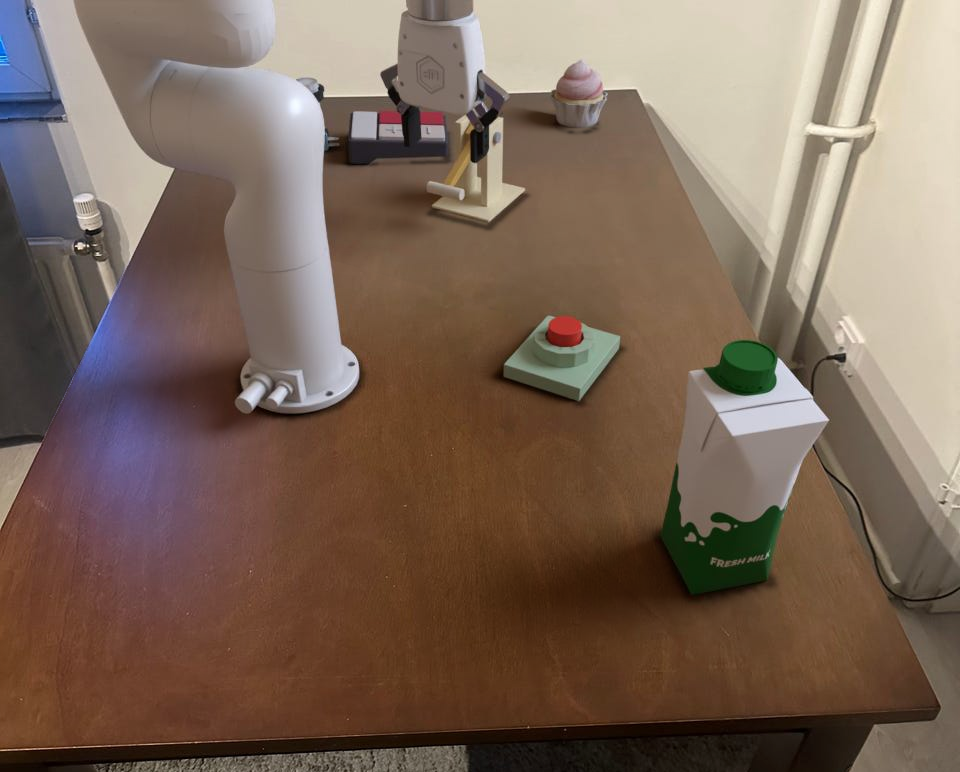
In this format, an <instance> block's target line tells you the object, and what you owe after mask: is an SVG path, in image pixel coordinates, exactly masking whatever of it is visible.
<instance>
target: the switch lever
mask: <svg viewBox="0 0 960 772" xmlns="http://www.w3.org/2000/svg"><path fill="white" fill-rule="evenodd" d="M473 129H474V127H473V125H472V124H470V126H469V128H468V129H467V131H466V137H467V140H468V142H467V144H466V146H465V147H464V149H463V151H462V153H461V154H460V156H459V158H458V159H457V161H456V163H455V162H454V164H453V166H452V168H451V169H450V171H449V173H448V175H447V177H446V178H445V180H444V182H443V183H441V182H437V181H432V180H430V181H428V182H427V184H426V189H425V190H426V192H427V193H429V194H433V195H438V196H441V197H443V196H445V197H448V198H452V199H456V200H460V201H461V200H463V198H464V194H465V192H464V189H461V188H457V187H456V183H457V181H458V179H459V178H460V176H461V174H462V172H463V171H464V169H465V167H466V166H467V164H468V162H469V160H470V132H471V130H473Z"/></svg>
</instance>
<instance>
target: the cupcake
mask: <svg viewBox="0 0 960 772" xmlns="http://www.w3.org/2000/svg"><path fill="white" fill-rule="evenodd" d="M550 92H551V94H550V95H549V97H550V99H551V102H552V104H553V106H554V112H555V116H556V120H557V123H558V124H560V125H562V126H565V127H569V128H574V129H575V128H576V129H577V128H578V129H579V128H582V129H583V128H589V127H592V126H594V125H595V124H597V123H598V120H599V117H600V113H601V110H602V109H603V107H604V105H605V103H606V101H607V100H608V97H607V96H608V92H606V91H604V84H603V81H602V79H601V76H600V74H599V73H598V72H597V70H594V69H593V68H590V67H589V65H588V64H587V63H586V61H585V60H583V59H579V60H578V61H576V62H574V63H572V64H571V65H568V67H567V68H566V69H565V71H564V73H563V75H562V76H561V77H560V78H559V79H558V81H557V83H556V85H555V89H552V90H550Z"/></svg>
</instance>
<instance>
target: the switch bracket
mask: <svg viewBox="0 0 960 772" xmlns="http://www.w3.org/2000/svg"><path fill="white" fill-rule="evenodd" d="M470 124H471V122H470V121H469V119H468V117H467V116H466V114H465V115H462V116H461V117H459V118H458V119H457V120H456V121H454V159H455V160H454V164H455V163H456V161H457V159H458V158H459V156H460V154H461V153H462V151H463V149H464V147H465V146H466V144H467V142H468V140H467V137H466V131H467V129H468V128H469V126H470ZM503 146H504V117H501V116H499V117H498V118H497V119H496V120H495V121H494V122H493V123H492V124H490V125H489V151H488V153H487V155H486V156H485V157H484V158H482V159H481V160H480V177H479V176H478V162H477V163H472V161H471V160H469V162H468V164H467V166H466V167H465V169H464V171H463V172H462V174H461V176H460V178H459V179H458V181H457V183H456V184H455V187H457V188H461V189H464V192H465V194H464V198H463V200H461V201H460V200H456V199H452V198H448V197H445V196H441V197H440V198H439V199H437V201H435V202H434V203H433V204H431V208H432V209H436V210H439V211H444V212H447V213H451V214H456V215H459V216H463V217H467V218H471V219H474V220H479V221H482V222H486V223H490V222H491V221H492V220H493V219H494V218H496V216H498V215H499V214H500V213H501V212H502V211H504V209H505V208H507V207H508V206H510V204H511V203H512V202H514V201H515V200H516V199H517V198H518V197H519V196H520V195H521V194H523V193H524V192H525V191H526V188H525V187H523V186H517V185H513V184H510V183H505V182H503V161H504V160H503V159H504V158H503V153H504V152H503V151H504V149H503V148H504V147H503Z"/></svg>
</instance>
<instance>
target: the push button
mask: <svg viewBox="0 0 960 772" xmlns="http://www.w3.org/2000/svg"><path fill="white" fill-rule="evenodd" d="M295 80H297V81H298V82H300V83H301V84H303V85H304V86H305V87H307V88H308V89H309V90H310V91H311V93H312V94H313V95H314V96H315V98H316V99H317V101H318V103H319V105H320V106H321V102H322V101H323V100H324V98H325V96H324V95H325V94H324V92H325V86H324V85H323V84H321V83H318V80H317V79H316V78H314V77H308V76H307V77H299V78H296V79H295ZM324 127H325V142H324V152H325V151H328V150H329V148H330V147H336V146H337V147H339V146H340V143H339V142H330V141H339V139H340V137H333V136H330V135H329V129H328V128H326V125H324Z"/></svg>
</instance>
